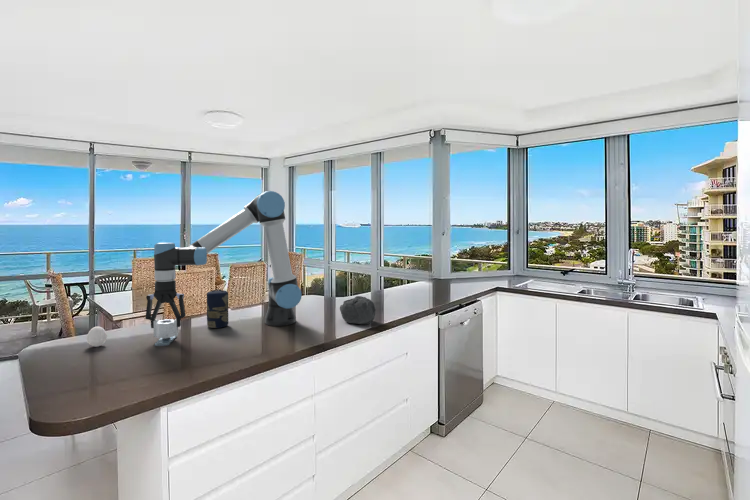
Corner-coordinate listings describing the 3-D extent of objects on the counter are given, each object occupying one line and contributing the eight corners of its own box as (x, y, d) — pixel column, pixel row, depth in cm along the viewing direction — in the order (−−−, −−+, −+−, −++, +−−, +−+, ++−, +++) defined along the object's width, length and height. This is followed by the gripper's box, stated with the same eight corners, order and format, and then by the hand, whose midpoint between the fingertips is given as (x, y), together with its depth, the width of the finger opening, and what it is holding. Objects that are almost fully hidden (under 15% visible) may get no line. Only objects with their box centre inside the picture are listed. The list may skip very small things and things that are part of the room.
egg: (89, 344, 149) (89, 325, 149) (109, 343, 152) (108, 323, 151) (84, 349, 143) (84, 329, 143) (104, 347, 146) (104, 327, 145)
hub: (177, 333, 160) (177, 319, 159) (173, 337, 153) (173, 323, 152) (159, 333, 158) (159, 319, 157) (154, 338, 151) (153, 324, 151)
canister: (220, 330, 173) (220, 291, 172) (202, 328, 175) (202, 290, 174) (232, 324, 183) (232, 288, 182) (215, 323, 185) (214, 287, 183)
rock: (332, 298, 192) (353, 289, 202) (336, 323, 195) (356, 313, 206) (361, 306, 177) (382, 295, 188) (365, 333, 180) (385, 321, 191)
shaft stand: (176, 336, 162) (176, 320, 161) (168, 345, 150) (168, 328, 150) (163, 337, 161) (163, 321, 160) (154, 346, 149) (154, 328, 149)
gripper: (193, 278, 160) (194, 331, 161) (141, 279, 155) (142, 334, 156) (189, 281, 153) (190, 336, 154) (134, 282, 148) (135, 339, 149)
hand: (166, 335), depth 155 cm, fingers closed on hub, 7 cm apart
